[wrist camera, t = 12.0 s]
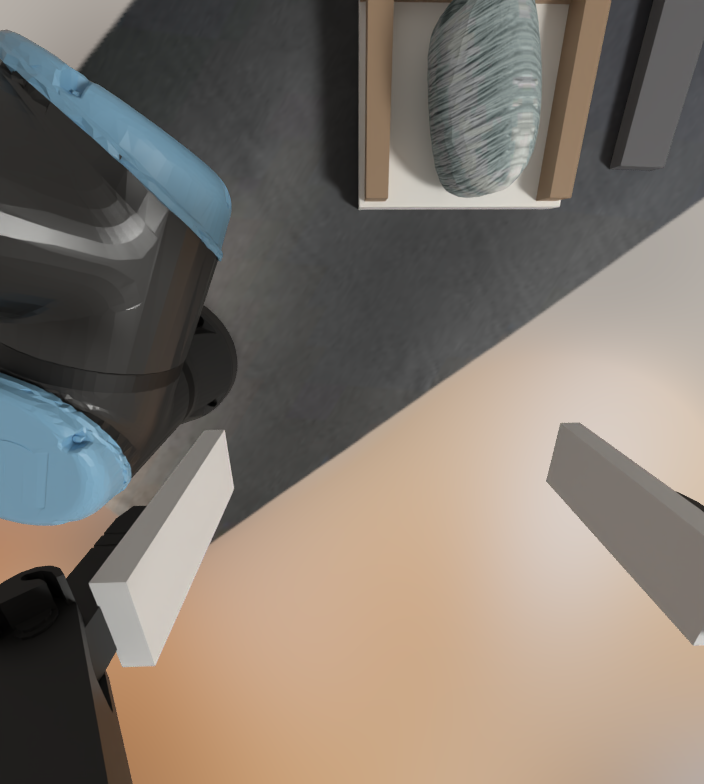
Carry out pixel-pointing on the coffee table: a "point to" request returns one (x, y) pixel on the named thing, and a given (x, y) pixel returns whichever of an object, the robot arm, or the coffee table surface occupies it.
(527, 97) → the grey streaked oval piece
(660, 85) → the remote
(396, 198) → the shelf bay
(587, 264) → the coffee table surface
